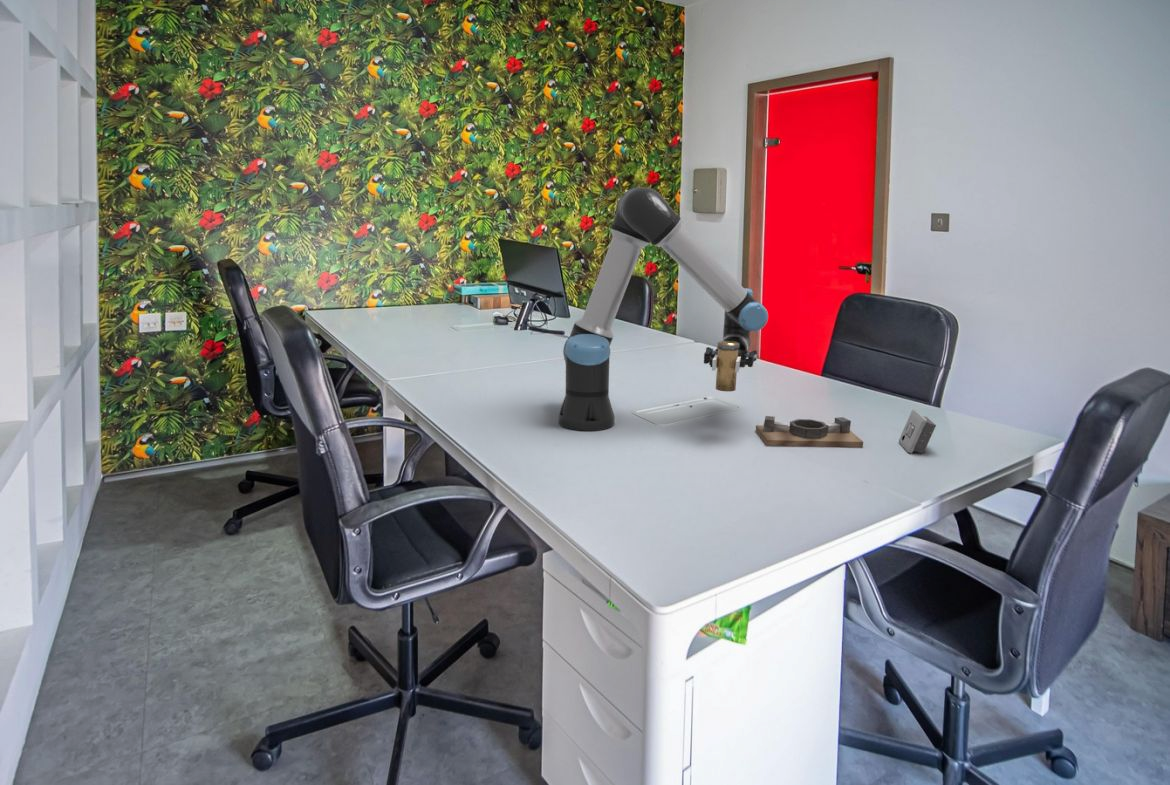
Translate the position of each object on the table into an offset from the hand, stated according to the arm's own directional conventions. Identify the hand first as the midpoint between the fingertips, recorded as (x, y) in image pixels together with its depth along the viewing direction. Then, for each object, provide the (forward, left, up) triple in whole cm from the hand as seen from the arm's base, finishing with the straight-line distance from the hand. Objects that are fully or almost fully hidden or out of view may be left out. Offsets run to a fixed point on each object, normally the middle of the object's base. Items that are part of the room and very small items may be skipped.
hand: (725, 366), depth 190 cm
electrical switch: (+40, +26, -20) cm, 52 cm away
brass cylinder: (-2, +5, -7) cm, 9 cm away
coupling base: (+16, +18, -20) cm, 31 cm away
